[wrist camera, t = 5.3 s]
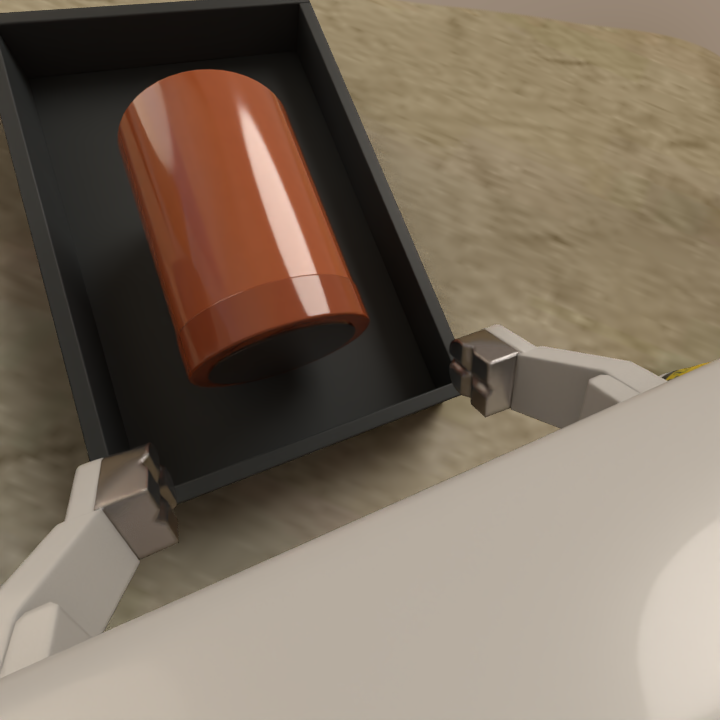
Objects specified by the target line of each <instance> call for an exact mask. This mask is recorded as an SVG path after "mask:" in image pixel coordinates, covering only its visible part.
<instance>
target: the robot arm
mask: <svg viewBox="0 0 720 720" xmlns="http://www.w3.org/2000/svg"><path fill="white" fill-rule="evenodd" d="M449 353H450V354H451V355H452V357H453V360H452V362H451V364H450V365H449V376H450V379H451V382H452V384H453V386H454V388H455V389H456V390H457V391H458V392H459V393H460V394H461V395H463V396H466V397H470V398H471V405H472V406H474V407H475V408H476V409H477V410H478V411H479V412H480V413H481V414H482V415H483V416H484V417H488V416H490V415H493V414H496V413H498V412H501V411H504V410H506V409H509V408H511V409H512V410H514V411H517V412H519V413H522V414H525V415H527V416H530V417H532V418H535V419H537V420H540V421H543V422H545V423H548V424H550V425H553V426H556V427H558V428H561V429H559V430H557V431H555V432H553V433H551V434H548V435H546V436H544V437H542V438H539V439H537V440H535V441H533V442H530V443H528V444H526V445H524V446H521V447H519V448H517V449H515V450H512V451H510V452H508V453H506V454H503V455H501V456H499V457H497V458H494V459H492V460H490V461H488V462H485V463H483V464H481V465H479V466H476V467H474V468H472V469H469V470H467V471H465V472H463V473H460V474H458V475H456V476H454V477H451V478H449V479H447V480H445V481H442V482H440V483H438V484H436V485H433V486H431V487H429V488H427V489H424V490H422V491H420V492H418V493H415V494H413V495H411V496H409V497H406V498H404V499H402V500H400V501H397V502H395V503H393V504H391V505H389V506H386V507H384V508H382V509H380V510H377V511H375V512H373V513H371V514H368V515H366V516H364V517H362V518H359V519H357V520H355V521H353V522H350V523H348V524H346V525H344V526H341V527H339V528H337V529H335V530H332V531H330V532H328V533H326V534H323V535H321V536H319V537H317V538H314V539H312V540H310V541H308V542H305V543H303V544H301V545H299V546H296V547H294V548H292V549H290V550H287V551H285V552H283V553H281V554H278V555H276V556H274V557H272V558H269V559H267V560H265V561H263V562H260V563H258V564H256V565H254V566H251V567H249V568H247V569H245V570H243V571H240V572H238V573H236V574H234V575H231V576H229V577H227V578H225V579H222V580H220V581H218V582H216V583H213V584H211V585H209V586H207V587H204V588H202V589H200V590H198V591H195V592H193V593H191V594H189V595H186V596H184V597H182V598H180V599H177V600H175V601H173V602H171V603H168V604H166V605H164V606H162V607H159V608H157V609H155V610H153V611H150V612H148V613H146V614H144V615H141V616H139V617H137V618H135V619H132V620H130V621H128V622H126V623H123V624H121V625H119V626H117V627H114V628H112V629H110V630H108V631H105V632H104V630H105V628H106V626H107V624H108V622H109V620H110V618H111V617H112V615H113V613H114V611H115V609H116V607H117V605H118V603H119V601H120V599H121V598H122V596H123V594H124V592H125V590H126V588H127V586H128V584H129V582H130V580H131V578H132V577H133V575H134V573H135V571H136V569H137V567H138V565H139V563H140V561H139V560H141V559H143V558H145V557H147V556H150V555H152V554H154V553H157V552H159V551H161V550H163V549H166V548H168V547H170V546H173V545H175V544H177V543H179V534H178V519H177V517H176V515H175V513H174V512H173V510H174V508H175V507H176V505H177V497H176V491H175V487H174V483H173V480H172V478H171V475H170V473H169V471H168V469H167V467H164V466H162V465H159V453H158V451H157V450H156V448H155V446H154V445H153V444H152V443H146V444H143V445H140V446H137V447H134V448H131V449H128V450H124V451H121V452H118V453H115V454H112V455H109V456H106V457H104V458H100V459H97V460H94V461H91V462H88V463H85V464H82V465H80V466H79V467H78V468H77V469H76V472H75V477H74V481H73V485H72V490H71V494H70V499H69V503H68V507H67V512H66V516H65V520H64V522H62V523H60V524H57V525H56V526H55V527H54V528H53V529H52V530H51V531H50V533H49V534H48V535H47V536H46V537H45V538H44V539H43V540H42V541H41V543H40V544H39V545H38V546H37V547H36V548H35V549H34V550H33V551H32V553H31V554H30V555H29V556H28V557H27V558H26V559H25V560H24V561H23V563H22V564H21V565H20V566H19V567H18V568H17V569H16V570H15V571H14V573H13V574H12V575H11V576H10V577H9V578H8V579H7V580H6V581H5V583H4V584H3V585H2V586H1V587H0V720H720V358H719V359H717V360H715V361H712V362H710V363H708V364H706V365H703V366H701V367H699V368H697V369H694V370H692V371H690V372H688V373H685V374H683V375H681V376H679V377H676V378H674V379H672V380H670V381H667V380H665V379H663V378H661V377H659V376H657V375H655V374H653V373H652V372H650V371H648V370H646V369H644V368H642V367H640V366H638V365H637V364H635V363H633V362H631V361H626V360H620V359H614V358H609V357H603V356H597V355H591V354H586V353H580V352H574V351H568V350H563V349H557V348H551V347H546V346H539V347H536V346H534V345H533V344H531V343H529V342H528V341H526V340H524V339H523V338H521V337H520V336H518V335H516V334H515V333H513V332H511V331H510V330H508V329H507V328H505V327H503V326H502V325H498V324H495V325H492V326H489V327H487V328H484V329H481V330H480V331H477V332H475V333H472V334H469V335H466V336H463V337H460V338H457V339H454V340H451V343H450V346H449Z"/></svg>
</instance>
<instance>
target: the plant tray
mask: <svg viewBox="0 0 720 720" xmlns="http://www.w3.org/2000/svg"><path fill="white" fill-rule="evenodd" d="M201 69H215V70H225V71H231V72H236V73H239V74H242V75H245V76H248V77H250V78H252V79H254V80H256V81H258V82H260V83H261V84H263V85H264V86H266V87H267V88H268V89H269V90H270V91H271V92H273V93H274V94H275V95H276V96H277V98H278V99H279V100H280V101H281V103H282V104H283V106H284V108H285V110H286V112H287V115H288V117H289V120H290V122H291V125H292V127H293V130H294V132H295V135H296V137H297V140H298V143H299V145H300V148H301V150H302V153H303V155H304V158H305V160H306V163H307V165H308V168H309V170H310V173H311V175H312V178H313V181H314V183H315V186H316V188H317V191H318V193H319V196H320V198H321V201H322V203H323V206H324V208H325V211H326V213H327V216H328V219H329V221H330V224H331V226H332V229H333V231H334V234H335V236H336V239H337V241H338V244H339V246H340V249H341V251H342V254H343V257H344V259H345V262H346V264H347V267H348V269H349V272H350V274H351V277H352V279H353V282H354V283H355V284H356V286H357V288H358V291H359V293H360V296H361V298H362V301H363V303H364V306H365V308H366V311H367V313H368V316H369V319H370V323H369V326H368V328H367V329H366V330H365V331H364V332H363V333H362V334H361V335H360V336H359V337H358V338H356V339H355V340H354V341H352V342H351V343H349V344H348V345H346V346H344V347H343V348H341V349H339V350H337V351H335V352H333V353H331V354H329V355H327V356H325V357H323V358H321V359H319V360H317V361H314V362H312V363H309V364H307V365H304V366H302V367H299V368H296V369H294V370H291V371H288V372H285V373H282V374H279V375H276V376H272V377H269V378H265V379H261V380H257V381H253V382H249V383H244V384H239V385H233V386H225V387H199V386H196V385H193V384H192V383H190V381H189V380H188V377H187V374H186V371H185V368H184V365H183V361H182V358H181V355H180V352H179V348H178V345H177V336H176V333H175V330H174V327H173V323H172V320H171V317H170V314H169V311H168V307H167V304H166V301H165V298H164V294H163V291H162V288H161V285H160V282H159V278H158V275H157V272H156V269H155V265H154V262H153V259H152V256H151V252H150V249H149V246H148V243H147V240H146V236H145V233H144V230H143V227H142V223H141V220H140V217H139V214H138V211H137V207H136V204H135V201H134V198H133V194H132V191H131V188H130V185H129V181H128V178H127V175H126V172H125V169H124V165H123V162H122V159H121V156H120V152H119V148H118V129H119V124H120V121H121V119H122V116H123V114H124V112H125V111H126V109H127V107H128V106H129V104H130V103H131V102H132V101H133V100H134V99H135V98H136V96H137V95H139V94H140V93H141V92H142V91H143V90H145V89H146V88H147V87H149V86H150V85H152V84H154V83H155V82H157V81H159V80H161V79H164V78H166V77H168V76H171V75H174V74H178V73H181V72H186V71H192V70H201ZM0 115H1V119H2V123H3V127H4V131H5V135H6V139H7V142H8V146H9V150H10V154H11V158H12V162H13V166H14V170H15V173H16V177H17V181H18V185H19V189H20V193H21V197H22V201H23V204H24V208H25V212H26V216H27V220H28V224H29V228H30V232H31V235H32V239H33V243H34V247H35V251H36V255H37V259H38V262H39V266H40V270H41V274H42V278H43V282H44V286H45V290H46V293H47V297H48V301H49V305H50V309H51V313H52V317H53V321H54V324H55V328H56V332H57V336H58V340H59V344H60V348H61V352H62V355H63V359H64V363H65V367H66V371H67V375H68V379H69V382H70V386H71V390H72V394H73V398H74V402H75V406H76V410H77V413H78V417H79V421H80V425H81V429H82V433H83V437H84V441H85V444H86V448H87V452H88V456H89V460H90V462H91V461H94V460H97V459H100V458H104V457H106V456H109V455H112V454H115V453H118V452H121V451H124V450H128V449H131V448H134V447H137V446H140V445H143V444H146V443H152V444H153V445H154V446H155V448H156V450H157V451H158V453H159V465H162V466H164V467H167V469H168V471H169V473H170V475H171V478H172V480H173V483H174V487H175V491H176V497H177V505H178V504H180V503H183V502H185V501H188V500H191V499H193V498H196V497H198V496H201V495H203V494H206V493H209V492H211V491H214V490H216V489H219V488H222V487H224V486H227V485H229V484H232V483H235V482H237V481H240V480H242V479H245V478H247V477H250V476H253V475H255V474H258V473H260V472H263V471H266V470H268V469H271V468H273V467H276V466H279V465H281V464H284V463H286V462H289V461H291V460H294V459H297V458H299V457H302V456H304V455H307V454H310V453H312V452H315V451H317V450H320V449H323V448H325V447H328V446H330V445H333V444H335V443H338V442H341V441H343V440H346V439H348V438H351V437H354V436H356V435H359V434H361V433H364V432H367V431H369V430H372V429H374V428H377V427H379V426H382V425H385V424H387V423H390V422H392V421H395V420H398V419H400V418H403V417H405V416H408V415H411V414H413V413H416V412H418V411H421V410H423V409H426V408H429V407H431V406H434V405H436V404H439V403H442V402H444V401H447V400H449V399H452V398H455V397H457V396H460V395H461V394H460V393H459V392H458V391H457V390H456V389H455V388H454V386H453V384H452V382H451V379H450V376H449V365H450V364H451V362H452V360H453V357H452V355H451V354H450V353H449V346H450V343H451V340H454V336H453V334H452V332H451V329H450V327H449V325H448V322H447V320H446V318H445V315H444V313H443V311H442V308H441V306H440V304H439V301H438V299H437V297H436V295H435V292H434V290H433V288H432V285H431V283H430V281H429V278H428V276H427V274H426V271H425V269H424V267H423V264H422V262H421V260H420V257H419V255H418V253H417V250H416V248H415V246H414V243H413V241H412V239H411V236H410V234H409V232H408V229H407V227H406V225H405V222H404V220H403V218H402V215H401V213H400V211H399V208H398V206H397V204H396V201H395V199H394V197H393V194H392V192H391V190H390V187H389V185H388V183H387V180H386V178H385V176H384V173H383V171H382V169H381V166H380V164H379V162H378V159H377V157H376V155H375V152H374V150H373V148H372V145H371V143H370V141H369V138H368V136H367V134H366V131H365V129H364V127H363V124H362V122H361V120H360V117H359V115H358V113H357V110H356V108H355V106H354V103H353V101H352V99H351V96H350V94H349V92H348V89H347V87H346V85H345V82H344V80H343V78H342V75H341V73H340V71H339V68H338V66H337V64H336V62H335V59H334V57H333V55H332V52H331V50H330V48H329V45H328V43H327V41H326V38H325V36H324V34H323V31H322V29H321V27H320V24H319V22H318V20H317V17H316V15H315V13H314V10H313V8H312V6H311V3H310V1H309V0H196V1H180V2H165V3H149V4H134V5H118V6H103V7H87V8H72V9H56V10H41V11H26V12H10V13H0Z"/></svg>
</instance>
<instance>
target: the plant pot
mask: <svg viewBox="0 0 720 720" xmlns="http://www.w3.org/2000/svg"><path fill="white" fill-rule="evenodd" d="M118 148H119V152H120V156H121V159H122V162H123V165H124V169H125V172H126V175H127V178H128V181H129V185H130V188H131V191H132V194H133V198H134V201H135V204H136V207H137V211H138V214H139V217H140V220H141V223H142V227H143V230H144V233H145V236H146V240H147V243H148V246H149V249H150V252H151V256H152V259H153V262H154V265H155V269H156V272H157V275H158V278H159V282H160V285H161V288H162V291H163V294H164V298H165V301H166V304H167V307H168V311H169V314H170V317H171V320H172V323H173V327H174V330H175V333H176V336H177V345H178V348H179V352H180V355H181V358H182V361H183V365H184V368H185V371H186V374H187V377H188V380H189V381H190V383H192V384H193V385H196V386H199V387H225V386H233V385H239V384H244V383H249V382H253V381H257V380H261V379H265V378H269V377H272V376H276V375H279V374H282V373H285V372H288V371H291V370H294V369H296V368H299V367H302V366H304V365H307V364H309V363H312V362H314V361H317V360H319V359H321V358H323V357H325V356H327V355H329V354H331V353H333V352H335V351H337V350H339V349H341V348H343V347H344V346H346V345H348V344H349V343H351V342H352V341H354V340H355V339H356V338H358V337H359V336H360V335H361V334H362V333H363V332H364V331H365V330H366V329H367V328H368V326H369V323H370V319H369V316H368V313H367V311H366V308H365V306H364V303H363V301H362V298H361V296H360V293H359V291H358V288H357V286H356V284H355V283H354V282H353V279H352V277H351V274H350V272H349V269H348V267H347V264H346V262H345V259H344V257H343V254H342V251H341V249H340V246H339V244H338V241H337V239H336V236H335V234H334V231H333V229H332V226H331V224H330V221H329V219H328V216H327V213H326V211H325V208H324V206H323V203H322V201H321V198H320V196H319V193H318V191H317V188H316V186H315V183H314V181H313V178H312V175H311V173H310V170H309V168H308V165H307V163H306V160H305V158H304V155H303V153H302V150H301V148H300V145H299V143H298V140H297V137H296V135H295V132H294V130H293V127H292V125H291V122H290V120H289V117H288V115H287V112H286V110H285V108H284V106H283V104H282V103H281V101H280V100H279V99H278V98H277V96H276V95H275V94H274V93H273V92H271V91H270V90H269V89H268V88H267V87H266V86H264V85H263V84H261V83H260V82H258V81H256V80H254V79H252V78H250V77H248V76H245V75H242V74H239V73H236V72H231V71H225V70H215V69H201V70H192V71H186V72H181V73H178V74H174V75H171V76H168V77H166V78H164V79H161V80H159V81H157V82H155V83H154V84H152V85H150V86H149V87H147V88H146V89H145V90H143V91H142V92H141V93H140V94H139V95H137V96H136V98H135V99H134V100H133V101H132V102H131V103H130V104H129V106H128V107H127V109H126V111H125V112H124V114H123V116H122V119H121V121H120V124H119V129H118Z"/></svg>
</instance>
